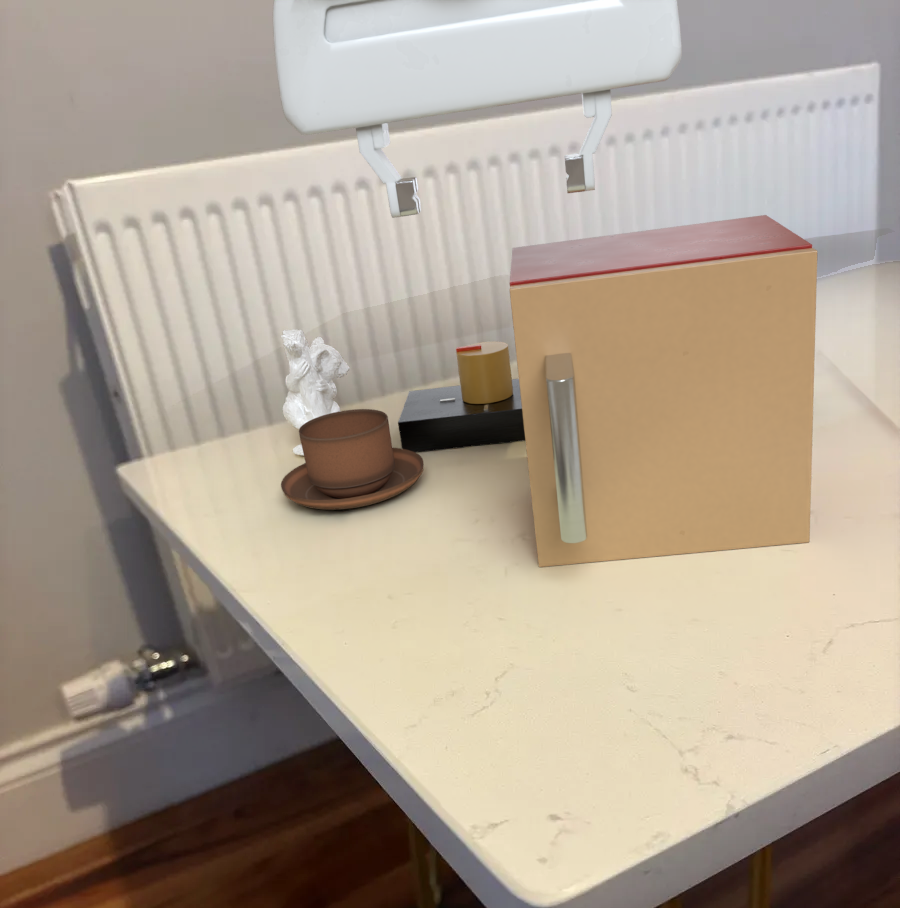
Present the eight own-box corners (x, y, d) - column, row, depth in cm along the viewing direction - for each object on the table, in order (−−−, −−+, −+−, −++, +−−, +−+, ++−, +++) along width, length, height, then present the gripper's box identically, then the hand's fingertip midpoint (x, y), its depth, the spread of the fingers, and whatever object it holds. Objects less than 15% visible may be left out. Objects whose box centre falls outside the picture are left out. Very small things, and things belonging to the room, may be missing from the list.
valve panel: (538, 406, 101) (535, 374, 100) (539, 439, 92) (536, 405, 91) (413, 420, 103) (408, 389, 101) (402, 453, 94) (397, 420, 92)
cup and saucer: (257, 506, 87) (240, 436, 84) (363, 459, 94) (351, 394, 91) (347, 533, 79) (332, 457, 76) (456, 480, 86) (446, 409, 83)
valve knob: (513, 385, 98) (508, 335, 96) (512, 400, 94) (507, 348, 91) (463, 391, 98) (457, 341, 96) (460, 406, 94) (453, 354, 92)
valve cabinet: (805, 536, 68) (812, 244, 59) (538, 561, 70) (509, 282, 61) (764, 467, 79) (766, 214, 71) (537, 490, 81) (512, 247, 73)
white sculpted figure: (340, 467, 93) (315, 334, 88) (273, 469, 95) (244, 340, 89) (371, 435, 100) (349, 311, 95) (307, 438, 102) (282, 317, 97)
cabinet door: (833, 582, 61) (845, 268, 53) (539, 608, 64) (507, 309, 55) (806, 536, 67) (813, 247, 59) (538, 561, 70) (509, 285, 61)
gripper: (673, -133, 50) (683, 170, 56) (270, -61, 53) (322, 220, 59) (688, -157, 45) (697, 182, 51) (237, -74, 47) (299, 236, 54)
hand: (492, 203), depth 55 cm, fingers open, 8 cm apart
